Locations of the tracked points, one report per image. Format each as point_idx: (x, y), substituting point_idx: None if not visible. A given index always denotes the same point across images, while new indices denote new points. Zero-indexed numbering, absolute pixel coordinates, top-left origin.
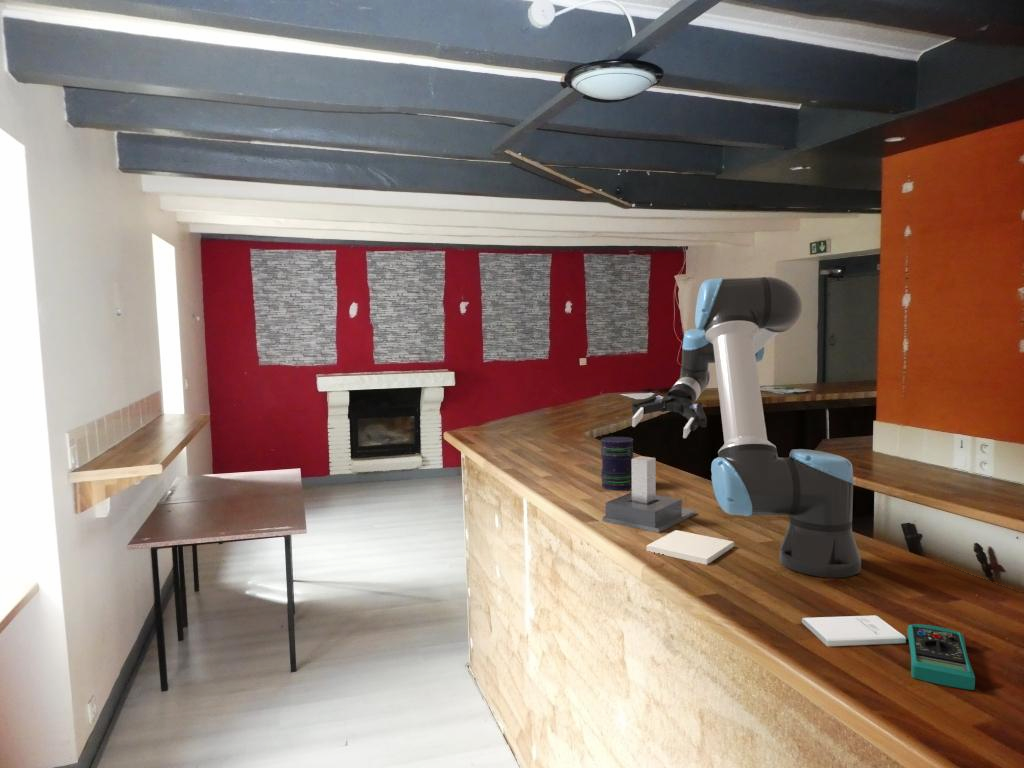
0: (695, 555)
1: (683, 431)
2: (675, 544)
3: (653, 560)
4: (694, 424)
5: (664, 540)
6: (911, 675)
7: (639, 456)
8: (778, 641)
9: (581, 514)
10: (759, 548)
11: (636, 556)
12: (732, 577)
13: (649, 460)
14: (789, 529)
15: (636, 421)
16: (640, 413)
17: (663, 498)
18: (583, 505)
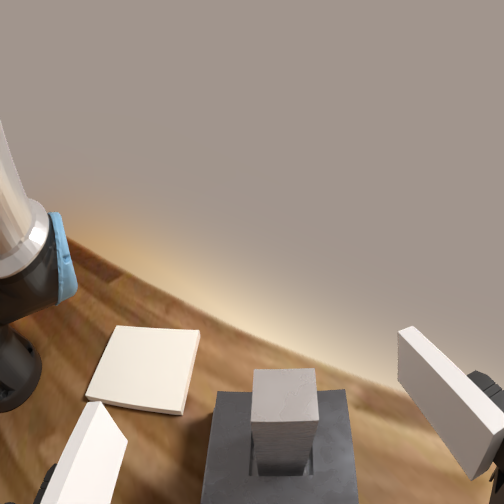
0: (130, 329)
1: (109, 415)
2: (161, 350)
3: (180, 315)
4: (49, 479)
5: (181, 358)
6: None
7: (317, 413)
8: (77, 253)
9: (405, 413)
10: (57, 406)
11: (204, 316)
12: (93, 314)
13: (253, 383)
14: (13, 337)
15: (411, 378)
16: (450, 403)
17: (248, 494)
18: (449, 456)
